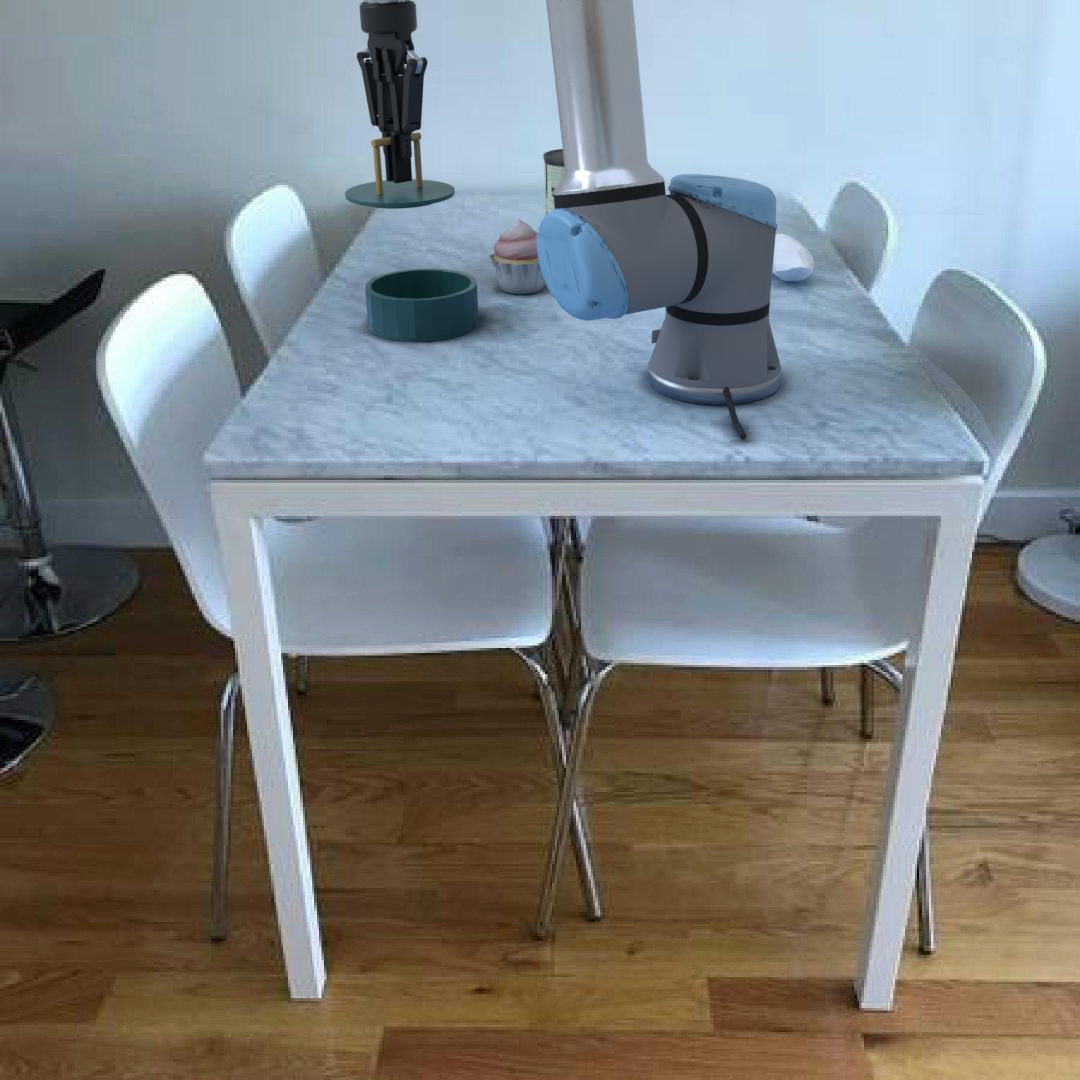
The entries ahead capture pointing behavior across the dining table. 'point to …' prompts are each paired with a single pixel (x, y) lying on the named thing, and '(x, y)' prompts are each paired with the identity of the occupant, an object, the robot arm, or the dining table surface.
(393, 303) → the tin
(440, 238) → the dining table surface
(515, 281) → the cupcake
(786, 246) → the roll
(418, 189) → the tin lid
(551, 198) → the coffee can
